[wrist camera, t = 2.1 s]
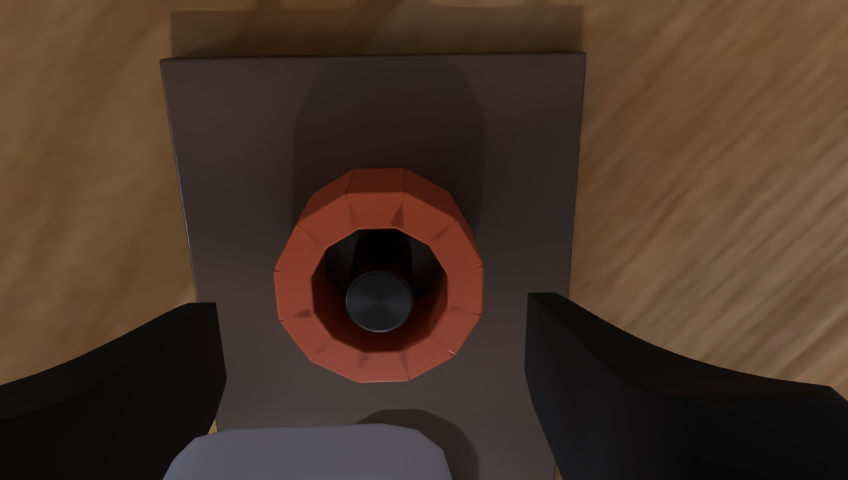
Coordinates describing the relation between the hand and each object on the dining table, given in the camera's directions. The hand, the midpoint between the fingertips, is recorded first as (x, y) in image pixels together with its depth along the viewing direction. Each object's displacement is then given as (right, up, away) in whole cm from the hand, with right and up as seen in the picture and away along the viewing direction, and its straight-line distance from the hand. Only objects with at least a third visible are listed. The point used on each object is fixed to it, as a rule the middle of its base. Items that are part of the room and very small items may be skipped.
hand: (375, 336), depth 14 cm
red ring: (0, +2, +5) cm, 5 cm away
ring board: (0, -4, +8) cm, 9 cm away
